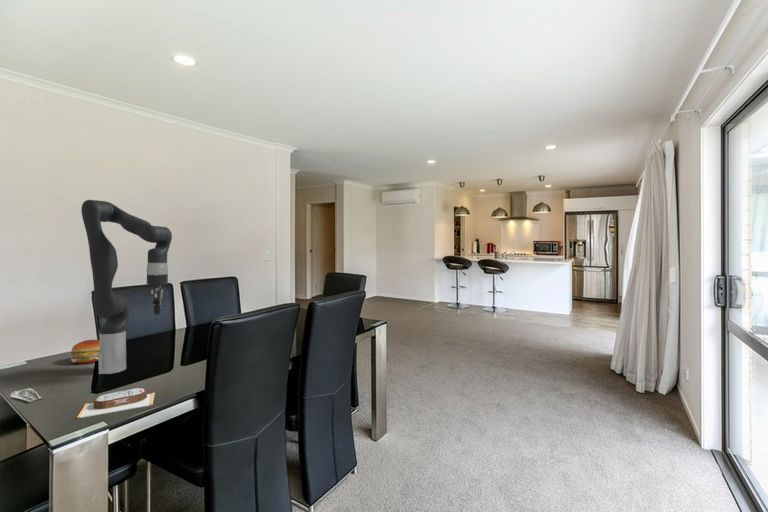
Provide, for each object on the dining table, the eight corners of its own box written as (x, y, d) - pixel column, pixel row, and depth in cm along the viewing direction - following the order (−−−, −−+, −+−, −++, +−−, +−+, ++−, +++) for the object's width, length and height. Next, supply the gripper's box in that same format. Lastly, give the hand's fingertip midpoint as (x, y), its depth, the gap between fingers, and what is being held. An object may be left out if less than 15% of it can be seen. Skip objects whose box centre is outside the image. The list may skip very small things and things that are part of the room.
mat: (76, 418, 111) (76, 417, 111) (85, 405, 121) (85, 403, 121) (152, 405, 121) (152, 403, 121) (154, 393, 131) (154, 392, 131)
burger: (82, 366, 161) (82, 345, 161) (63, 363, 165) (62, 342, 165) (113, 358, 174) (113, 338, 174) (94, 355, 178) (94, 336, 178)
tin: (94, 402, 122) (92, 413, 115) (94, 393, 122) (92, 404, 115) (146, 392, 131) (147, 401, 124) (146, 384, 131) (147, 393, 124)
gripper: (148, 272, 153) (148, 312, 153) (144, 274, 141) (144, 317, 141) (168, 272, 156) (168, 311, 157) (166, 274, 145) (166, 316, 145)
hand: (157, 314), depth 149 cm, fingers closed
